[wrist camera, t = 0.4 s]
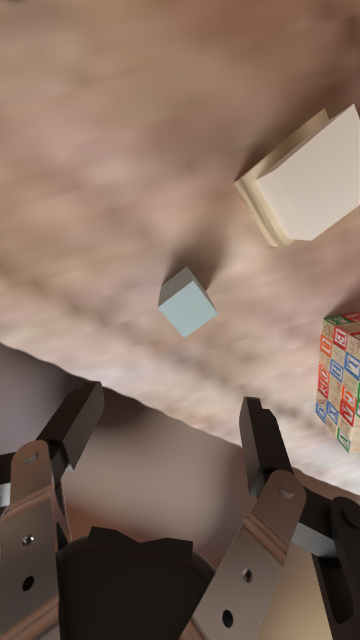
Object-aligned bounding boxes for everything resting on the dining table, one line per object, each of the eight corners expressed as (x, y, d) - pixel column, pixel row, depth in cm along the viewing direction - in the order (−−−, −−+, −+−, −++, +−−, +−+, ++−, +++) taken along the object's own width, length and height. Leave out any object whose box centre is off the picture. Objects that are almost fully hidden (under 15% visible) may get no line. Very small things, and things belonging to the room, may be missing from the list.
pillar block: (180, 310, 36) (184, 338, 27) (161, 286, 35) (157, 307, 26) (205, 291, 35) (218, 313, 26) (186, 266, 34) (192, 280, 25)
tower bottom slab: (269, 245, 33) (284, 247, 29) (232, 183, 30) (244, 175, 26) (331, 198, 31) (358, 193, 27) (299, 127, 28) (324, 107, 24)
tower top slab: (288, 238, 28) (311, 240, 24) (255, 180, 26) (274, 170, 21) (347, 193, 27) (384, 186, 22) (318, 127, 24) (353, 103, 20)
